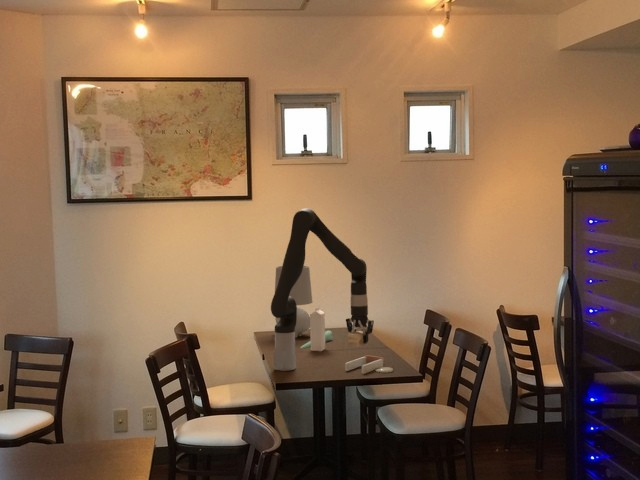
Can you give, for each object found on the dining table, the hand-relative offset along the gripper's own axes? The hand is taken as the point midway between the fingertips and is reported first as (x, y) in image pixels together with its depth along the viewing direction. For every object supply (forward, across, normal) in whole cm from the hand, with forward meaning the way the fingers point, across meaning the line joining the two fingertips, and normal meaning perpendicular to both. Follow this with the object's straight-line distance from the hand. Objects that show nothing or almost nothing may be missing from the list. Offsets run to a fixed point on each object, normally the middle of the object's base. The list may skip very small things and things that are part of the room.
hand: (360, 342), depth 310 cm
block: (+1, 0, +2) cm, 2 cm away
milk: (+13, +47, -27) cm, 56 cm away
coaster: (+14, -5, -11) cm, 18 cm away
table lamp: (+13, +81, -47) cm, 95 cm away
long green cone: (+14, +57, -37) cm, 69 cm away
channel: (+14, +4, -9) cm, 17 cm away
